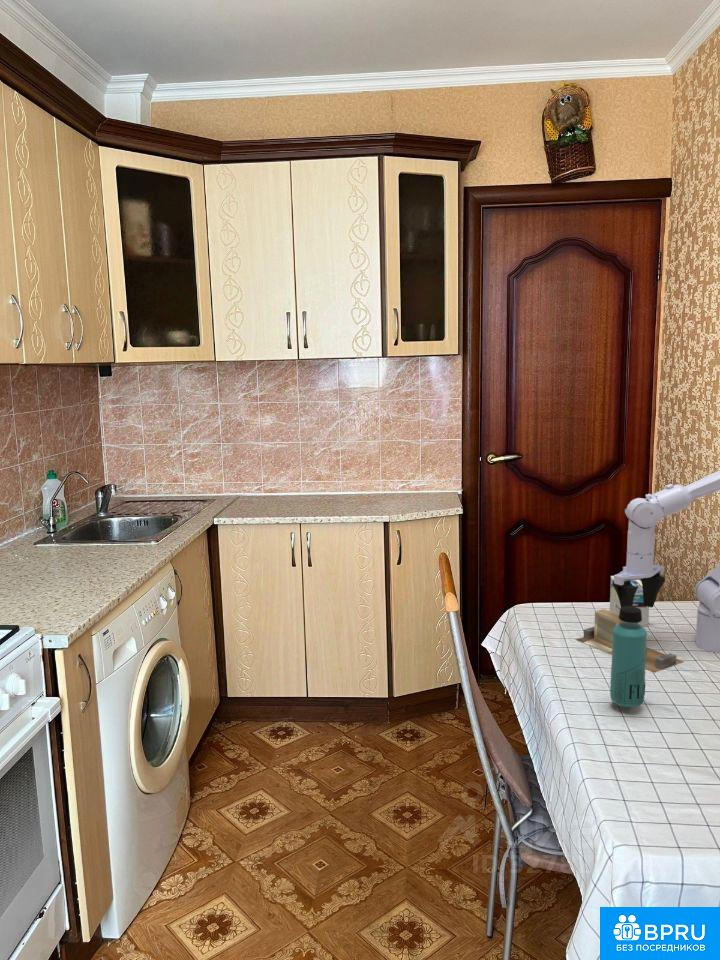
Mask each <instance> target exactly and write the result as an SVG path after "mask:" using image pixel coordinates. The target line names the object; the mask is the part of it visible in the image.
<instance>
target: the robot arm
mask: <svg viewBox="0 0 720 960" xmlns="http://www.w3.org/2000/svg"><path fill="white" fill-rule="evenodd" d="M718 491H719V492H720V470H717V471H715V472H712V473H711V474H709V475H706V476H704V477H702V478H700V479H698V480H696V481H694V482H692V483H690V484H687V485H686V486H683V485H680V484H677V483H676V484H674V485H673V484H671V483H669V484H667V485H665V488H664V489H662V490H660V491H657V492H654V493H652V494H651V493H648V494H647V493H646V494H645V498H643V497H642V498H641V497H637V498H634V499H632V500H630V502H629V503H628V504H627V506H626V508H624V513H625V515H626V517H627V519H628V527H627V528H628V530H627V541H626V542H627V544H626V548H627V549H626V564H625V566H622V571H620V572H619V573H617V574H614V575H613V576H614V580H613V582H612V585H613V587H614V588H615V590H616V592H617V595H618V598H619V601H620V605H621V607H625V606H632V607H633V599H634V596H635V593H636V591H637V589H638V587H637V586H633V585H632V583H631V581H634V580H638V579H639V580H640V581H641V582H642V587H643V603H644V605H645V606H648V607H649V608H651V609H652V608H654V605H655V602H656V600H657V596H658V594H659V592H660V590H661V588H662V587H663V585H664V583H666V578H665V576H662V575H664V570H665V569H664V568H665V567H664V566H663V565H660V564H654V557H655V553H654V552H655V538H656V533H655V530H656V525H658V523H659V522H660V519H661V520H662V519H663V518H667V517H669V516H671V515H673V514H676V513H679V512H681V511H684V510H686V509H688V508H689V507H690V505H691V503H692V501H693V500H697V499H699V498H701V497H705V496H707V495H709V494H713V493H715V492H718ZM694 596H695V597H696V599H697V600H698V606H697V611H696V612H697V613H696V615H697V616H696V630H695V646H696V647H697V648H699V649H700V650H703V651H706V652H712V653H720V561H719V562H718V564H717V566H715V567H714V568H712V569H710V570H709V571H708V572H707V574H706V576H704V577H703V579H701V580H699V581H698V582H697V584H696V585H695V588H694Z"/></svg>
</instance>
